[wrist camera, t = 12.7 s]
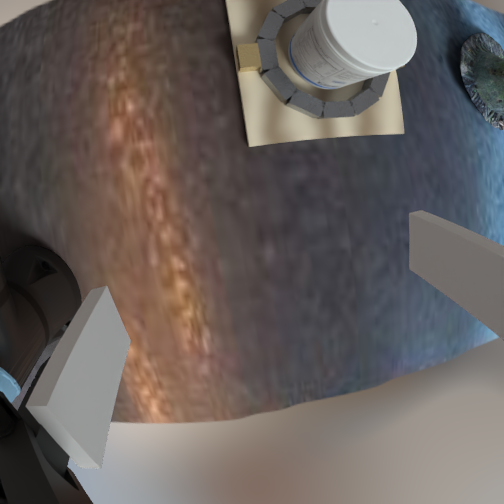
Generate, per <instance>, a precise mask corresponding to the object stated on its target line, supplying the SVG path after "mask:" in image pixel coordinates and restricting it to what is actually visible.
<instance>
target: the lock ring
mask: <svg viewBox="0 0 504 504" xmlns="http://www.w3.org/2000/svg"><path fill="white" fill-rule="evenodd" d="M321 1H322V0H287V1H285V2H283V3H281V4H279V5H277V6H275V7H273V8H272V10H271V11H269V13H268V15H267V17H266V19H265V21H264V23H263V26H262V28H261V30H260V32H259V34H258V36H257V38H256V40H255V42H256V43H252V44H242V45H237V47H236V50H235V52H236V58H237V64H238V71H239V73H240V72H249V71H259V74H264V75H263V76H262V77H261V79H262V80H263V81H264V82H265V84H266V85H267V86H268V87H269V88H270V90H271V91H272V92H273V93H274V94H275V96H276V97H277V98H278V99H279V101H280V102H283V101H285V100H287V101H286V103H285V106H287V107H289V108H292V109H294V110H296V111H298V112H301V113H303V114H305V115H307V116H309V117H311V118H317V119H329V118H347V117H354V116H356V115H359V114H360V113H362V112H363V111H365V110H366V109H367V108H369V107H370V106H372V105H373V104H374V103H376V102H377V101H379V100H380V99H379V97H382V95H383V92H384V90H385V87H386V84H387V81H388V78H389V75H390V73H391V72H388V73H385V74H382V75H378V76H375V77H372V78H368V79H365V81H364V84H363V86H362V89H361V90H360V91H359V92H357V93H356V94H355V95H353V96H352V97H350V98H349V99H347V100H346V101H331V102H323V101H321V100H319V99H317V98H315V97H313V96H311V95H309V94H307V93H305V92H303V91H300V90H298V89H297V88H296V87H295V85H294V84H293V83H292V82H291V80H290V79H289V78H288V77H287V75H286V74H285V73H284V72H283V71H282V69H281V68H280V67H279V63H278V57H277V52H276V46H275V38H276V36H277V34H278V32H279V29H280V27H281V25H282V24H283V23H285V22H287V21H289V20H290V19H292V18H294V17H296V16H298V15H300V14H311V13H312V11H313V10H314V9H315V8H316V7H317V5H318V4H319V3H320V2H321ZM402 67H405V66H404V65H403V66H401V67H399V68H402ZM397 69H398V68H397Z"/></svg>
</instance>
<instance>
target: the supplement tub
mask: <svg viewBox="0 0 504 504" xmlns="http://www.w3.org/2000/svg"><path fill="white" fill-rule="evenodd" d="M416 45H417V34H416V29H415V25H414V23H413V20H412V18H411V16H410V14H409V12H408V11H407V10H406V8H405V7H404V6H403V4H402V3H401V2H400V1H399V0H322V1H321V2H320V3H319V4H318V5H317V7H316V8H315V9H314V10H313V11H312V13H311V14H310V15H309V16H308V17H307V18H306V20H305V21H304V22H303V23H302V24H301V26H300V27H299V28H298V29H297V31H296V32H295V33H294V35H293V36H292V38H291V40H290V42H289V47H288V55H289V60H290V63H291V65H292V67H293V69H294V70H295V72H296V73H297V74H298V75H299V76H300V77H301V78H302V79H303V80H304V81H306V82H307V83H309V84H310V85H312V86H315V87H318V88H322V89H337V88H341V87H344V86H347V85H350V84H353V83H356V82H359V81H362V80H365V79H368V78H372V77H375V76H378V75H382V74H385V73H388V72H391V71H394V70H395V69H397V68H399V67H401V66H403V65H405V64H406V63H407V62H408V61H409V60H410V59H411V58H412V56H413V54H414V52H415V49H416Z"/></svg>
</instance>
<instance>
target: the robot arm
mask: <svg viewBox="0 0 504 504" xmlns="http://www.w3.org/2000/svg"><path fill="white" fill-rule="evenodd" d="M409 236H410V257H409V269H410V270H412V271H413V272H414V273H416V274H417V275H419V276H420V277H421V278H423V279H424V280H426V281H427V282H429V283H430V284H431V285H433V286H434V287H435V288H437V289H438V290H440V291H441V292H442V293H444V294H445V295H446V296H448V297H449V298H450V299H452V300H453V301H454V302H456V303H457V304H458V305H460V306H461V307H462V308H464V309H465V310H466V311H468V312H469V313H470V314H472V315H473V316H474V317H475V318H477V319H478V320H479V321H481V322H482V323H483V324H484V325H486V326H487V327H488V328H489V329H491V330H492V331H493V332H494V333H496V334H497V335H498V336H499V337H500V338H502V339H503V340H504V246H503V245H500V244H498V243H496V242H494V241H492V240H490V239H488V238H486V237H483V236H481V235H479V234H477V233H475V232H472V231H470V230H468V229H466V228H463V227H461V226H459V225H456V224H454V223H452V222H449V221H447V220H445V219H442V218H440V217H437V216H435V215H432V214H430V213H427V212H425V211H422V210H420V211H416V212H412V213H409ZM61 337H62V338H61ZM59 338H61V340H60V341H59V343H58V345H57V347H56V348H55V350H54V352H53V354H52V356H51V357H49V358H48V359H47V360H46V361H45V362H44V363H43V364H42V365H41V367H40V368H39V370H38V372H37V374H36V376H35V379H33V381H32V383H31V387H29V389H28V391H27V393H26V395H25V397H24V399H23V401H22V403H21V405H20V407H19V409H18V411H17V410H16V409H15V408H14V406H13V405H12V404H11V403H12V402H13V400H14V399H15V397H16V396H18V395H19V393H20V391H21V389H22V387H23V385H24V383H25V382H26V380H27V378H28V376H29V374H30V373H31V371H32V369H33V368H34V366H35V364H36V362H37V361H38V359H39V357H40V356H41V354H42V352H43V351H44V349H45V348H46V346H47V345H49V344H51V343H52V342H54V341H56V340H58V339H59ZM130 342H131V340H130V338H129V336H128V334H127V331H126V329H125V327H124V325H123V323H122V320H121V318H120V316H119V313H118V311H117V309H116V306H115V304H114V302H113V299H112V297H111V294H110V292H109V289H108V287H107V286H104V287H100V288H96V289H92V290H91V291H90V292H89V294H88V295H87V297H86V299H85V300H84V302H83V303H82V305H81V294H80V290H79V286H78V284H77V281H76V279H75V277H74V275H73V273H72V272H71V270H70V269H69V267H68V266H67V265H66V264H65V263H64V262H63V260H62V259H60V258H59V257H58V256H57V255H56V254H54V253H53V252H51V251H49V250H48V249H45V248H43V247H39V246H24V247H21V248H19V249H18V250H16V251H15V252H13V253H12V254H11V255H9V256H8V257H7V258H6V260H5V261H4V262H3V264H2V262H1V258H0V504H93V503H92V501H91V500H90V498H89V497H88V495H87V494H86V492H85V490H84V489H83V487H82V486H81V484H80V483H79V481H78V479H77V478H76V476H75V474H74V473H73V472H72V471H71V470H70V469H69V468H68V467H67V465H68V461H69V457H70V458H71V459H72V460H73V461H74V462H75V463H76V464H77V465H78V466H79V467H80V468H101V467H102V461H103V457H104V451H105V446H106V441H107V436H108V431H109V427H110V422H111V417H112V413H113V408H114V404H115V400H116V396H117V392H118V388H119V384H120V380H121V376H122V372H123V368H124V364H125V360H126V357H127V353H128V350H129V346H130Z"/></svg>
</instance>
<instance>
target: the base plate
mask: <svg viewBox="0 0 504 504" xmlns="http://www.w3.org/2000/svg"><path fill="white" fill-rule="evenodd" d="M285 1H287V0H225V2H226V8H227V15H228V21H229V27H230V33H231V39H232V45H233V51H234V58H235V64H236V70H237V76H238V83H239V89H240V96H241V102H242V108H243V115H244V121H245V128H246V135H247V141H248V147H252V146H259V145H266V144H274V143H282V142H290V141H299V140H309V139H320V138H331V137H344V136H360V135H381V134H404V125H403V116H402V108H401V100H400V93H399V86H398V80H397V74H396V69H395V70H394V71H391V73H390V75H389V78H388V81H387V84H386V87H385V90H384V92H383V95H382V97H379V99H380V100H379V101H377V102H376V103H374V104H373V105H372V106H370V107H369V108H367V109H366V110H365V111H363V112H362V113H360V114H359V115H356V116H354V117H347V118H329V119H317V118H311V117H309V116H307V115H305V114H303V113H301V112H298V111H296V110H294V109H292V108H289V107H287V106H285V103H286V101H287V100H285V101H283V102H280V101H279V99H278V98H277V97H276V96H275V94H274V93H273V92H272V91H271V90H270V88H269V87H268V86H267V85H266V84H265V82H264V81H263V80H262V79H261V77H262V76H263V75H264V74H259V71H249V72H240V73H239V71H238V64H237V58H236V52H235V50H236V47H237V45H242V44H252V43H256V42H255V40H256V38H257V36H258V34H259V32H260V30H261V28H262V26H263V23H264V21H265V19H266V17H267V15H268V13H269V11H271V10H272V8H273V7H275V6H277V5H279V4H281V3H283V2H285ZM309 15H310V14H300V15H298V16H296V17H294V18H292V19H290V20H289V21H287V22H285V23H283V24H282V25H281V27H280V29H279V32H278V34H277V36H276V38H275V46H276V52H277V57H278V63H279V67H280V68H281V69H282V71H283V72H284V73H285V74H286V75H287V77H288V78H289V79H290V80H291V82H292V83H293V84H294V85H295V87H296V88H297V89H298V90H300V91H303V92H305V93H307V94H309V95H311V96H313V97H315V98H317V99H319V100H321V101H323V102H331V101H346V100H347V99H349V98H350V97H352V96H353V95H355V94H356V93H357V92H359V91H360V90H361V89H362V86H363V84H364V81H365V80H362V81H359V82H356V83H353V84H350V85H347V86H344V87H341V88H337V89H322V88H318V87H315V86H312V85H310V84H309V83H307V82H306V81H304V80H303V79H302V78H301V77H300V76H299V75H298V74H297V73H296V72H295V70H294V69H293V67H292V65H291V63H290V60H289V55H288V47H289V42H290V40H291V38H292V36H293V35H294V33H295V32H296V31H297V29H298V28H299V27H300V26H301V24H302V23H303V22H304V21H305V20H306V18H307V17H308V16H309Z"/></svg>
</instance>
